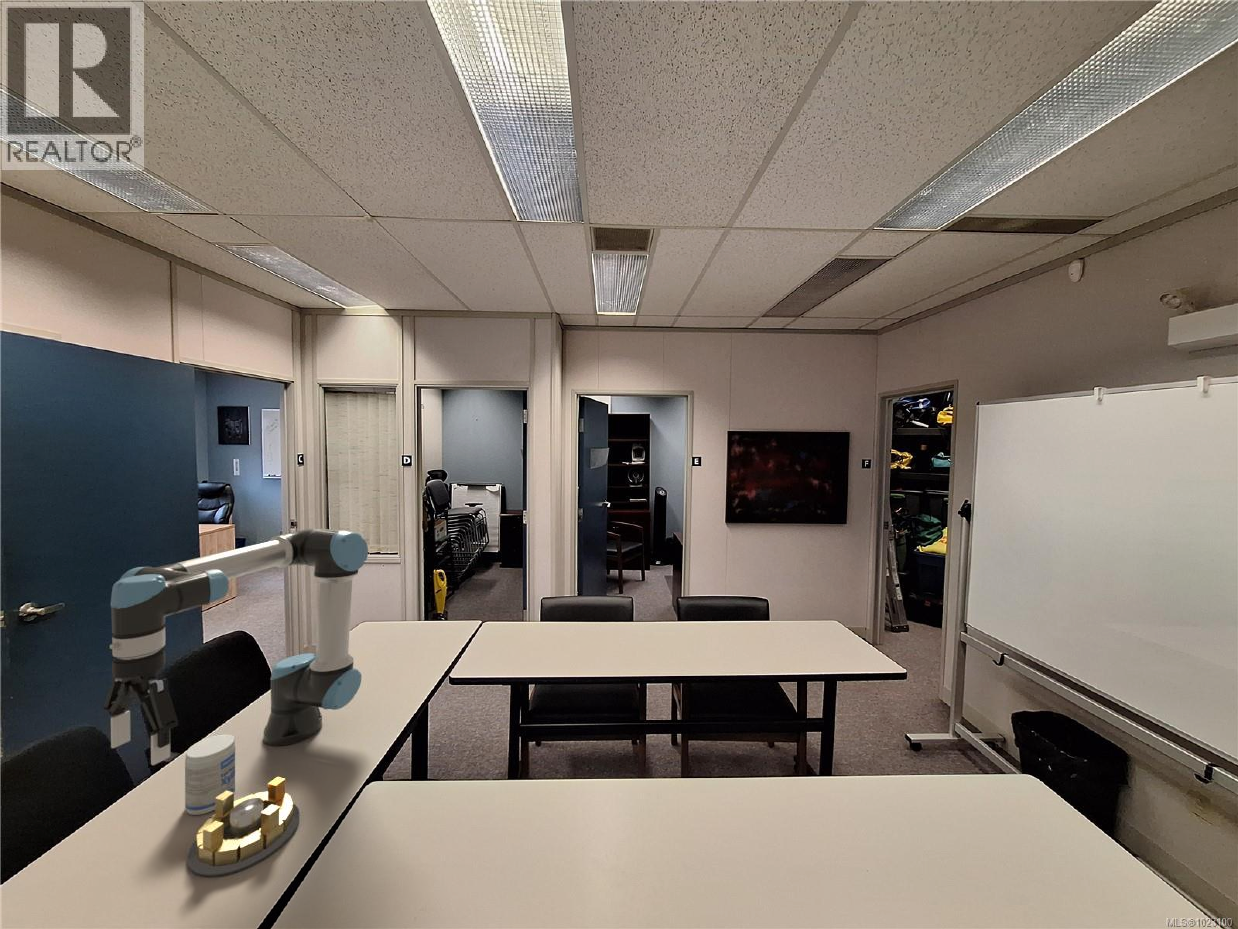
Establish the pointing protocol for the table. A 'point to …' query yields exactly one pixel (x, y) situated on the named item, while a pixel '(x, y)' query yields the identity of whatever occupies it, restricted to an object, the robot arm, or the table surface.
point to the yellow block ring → (272, 827)
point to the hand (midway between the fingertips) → (140, 752)
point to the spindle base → (243, 863)
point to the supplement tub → (209, 772)
